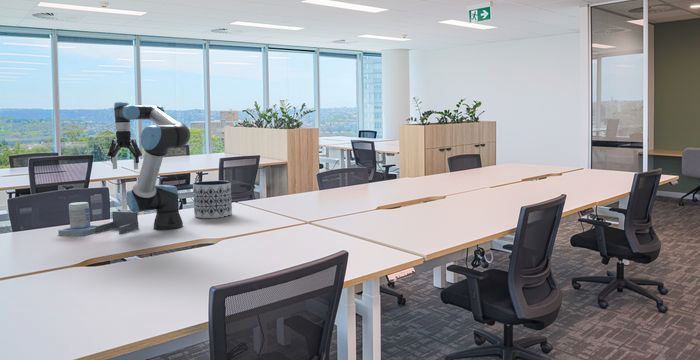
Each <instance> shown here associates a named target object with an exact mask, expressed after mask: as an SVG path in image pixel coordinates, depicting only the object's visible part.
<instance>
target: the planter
mask: <svg viewBox="0 0 700 360" xmlns="http://www.w3.org/2000/svg"><path fill="white" fill-rule="evenodd" d="M192 191H193V193H192V195H193V212H194V217H196V218H197V217H198V219H205V218H211V219H220V218H219V217H222V218H225V217H224V216H227V217H229V216H228V215H230V216H232V214H233V206H232V203H233V202H232V200H233V199H232V183H231V181H229V180H205V181H196V182H193V183H192Z"/></svg>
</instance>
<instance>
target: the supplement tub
mask: <svg viewBox="0 0 700 360" xmlns="http://www.w3.org/2000/svg"><path fill="white" fill-rule="evenodd" d="M68 214H69V227H70V228H71V230H74V231H84V230H87V229H91V226H90V225H91V218H90V217H91V216H90V205H89V202H87V201H79V202H77V201H76V202H71V203H69V204H68Z"/></svg>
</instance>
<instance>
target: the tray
mask: <svg viewBox="0 0 700 360" xmlns="http://www.w3.org/2000/svg"><path fill="white" fill-rule="evenodd" d="M98 225H99V224H97V225H96V224H95V225H94V224H90V226H91V229H87V230H84V231H74V230H71V228H70V226H68V227H65V228H61V229H59V230H57V231H58V235H59V236H69V235H72V236H74V237H85V236H88V234H89V235H92V234H95V233H96V226H98Z"/></svg>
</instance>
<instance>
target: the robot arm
mask: <svg viewBox="0 0 700 360" xmlns="http://www.w3.org/2000/svg"><path fill="white" fill-rule="evenodd" d="M113 110H114V111H113V112H114V125H115V137H116V139H111V145H110V147H109V149H108V153H107V157H110V161H111V164H112V170H117V169H118V161H117V154H118V153H119V152H120V150H121V148H122V149H123V148H124V149H125V148H126V149H128V150H129V151H130V154H132V155H133V158H132V159H133V169H134V170H138V169H139V163H140V157H142V156H143V153H142V151H141V150H140V148H139V146H138V144H137V141H136V139H135V138H134V139H131V137H132V136H131V135H132V134H131V133H132V132H131V121H132V120H133V121H134V120H150V121H152V122H153V123H154V124H153V125H146V126H145V127H144V128H143V129H142V131H141V134H140V145H141V147H142V148H143V151H144V152H145V153H144V156H143V161H142V164H141V167H140V171H139V174H138V175H139V176H138V179H137V182H136V183H135V184H134V185H133V186H132V189H131V190H130V189H129V190H127V191H126V193H125V197H126V203H127V207H128V208H129V210H130V212H137V213H141V212H142V213H143V212H149V211H156V213H155V214H156V215H155V218H154V223H153V229H154V230H161V231H162V230H163V231H164V230H173V229H180V228H183V226H184V225H183V223H184V222H183V220H182V218H181V214H180V211H179V206H180V205H179V192H178V187H177V186H175V185H169V184H168V185H167V184H164V185H163V184H156V183H157V180H158V177H159V172H160V169H161V166H162V162H163V160H164V159H163V158H164V157H165V156H166V155H167V154H168V153H169V150H170V149H180V148H182V147H184V146H186V145H187V144H188V143H189V141H190V139H191V130H190V128H189V127H188V126H187V125H186V124H184V123H183V122H182V121H181V122H180V121H177V120H175V119H174V118H172V117H171V116H170V115H169V114H167V113H165V108H164V107H163V106H162V105H157V104H155V105H133V104H130V103H129V102H126V101H125V102H124V101H122V102H121V101H118V102H114V105H113Z"/></svg>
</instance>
